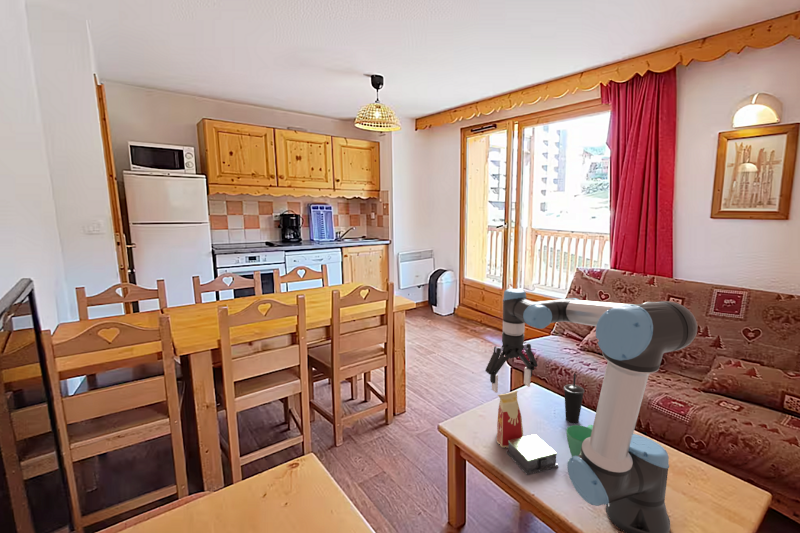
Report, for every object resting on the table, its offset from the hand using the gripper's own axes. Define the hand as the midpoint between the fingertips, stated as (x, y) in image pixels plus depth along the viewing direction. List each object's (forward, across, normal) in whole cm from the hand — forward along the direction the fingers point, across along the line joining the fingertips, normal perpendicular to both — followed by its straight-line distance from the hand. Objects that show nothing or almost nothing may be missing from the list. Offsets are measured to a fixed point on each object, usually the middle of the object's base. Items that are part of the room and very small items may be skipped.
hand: (511, 388), depth 139 cm
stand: (+21, -1, +12) cm, 24 cm away
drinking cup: (+21, -32, -4) cm, 39 cm away
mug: (+21, -19, +16) cm, 33 cm away
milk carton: (+21, 0, 0) cm, 21 cm away
